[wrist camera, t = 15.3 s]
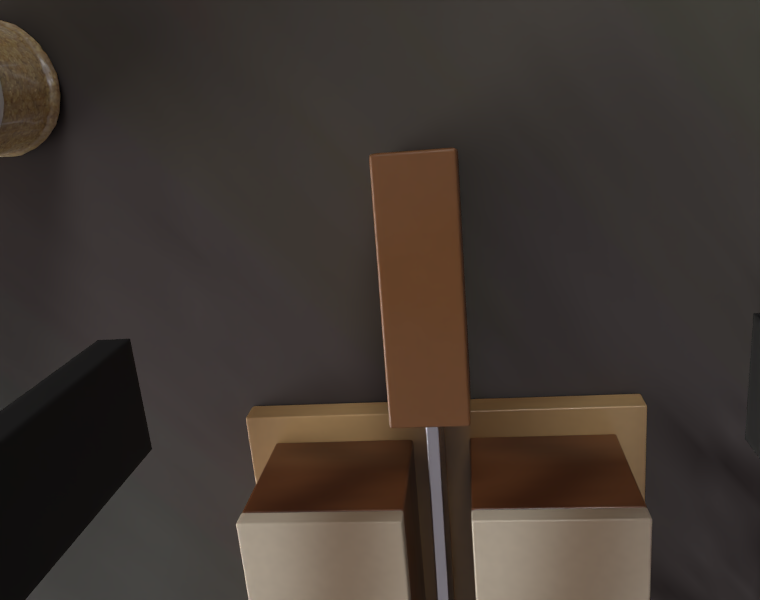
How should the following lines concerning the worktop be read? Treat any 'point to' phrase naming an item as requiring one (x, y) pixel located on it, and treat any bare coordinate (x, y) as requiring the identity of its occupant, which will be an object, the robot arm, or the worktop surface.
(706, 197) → the worktop surface
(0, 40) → the sprinkles bottle
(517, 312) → the worktop surface
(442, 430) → the knife
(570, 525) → the cake
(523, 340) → the worktop surface
